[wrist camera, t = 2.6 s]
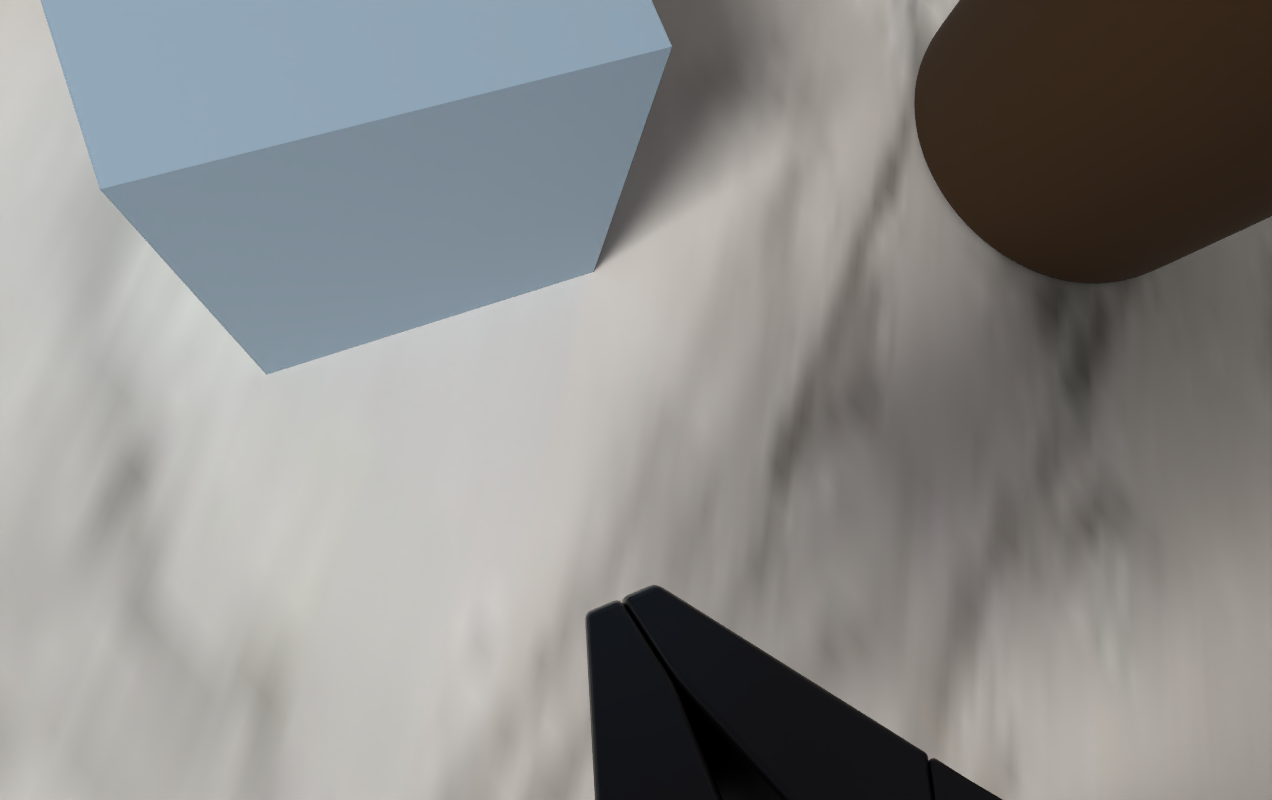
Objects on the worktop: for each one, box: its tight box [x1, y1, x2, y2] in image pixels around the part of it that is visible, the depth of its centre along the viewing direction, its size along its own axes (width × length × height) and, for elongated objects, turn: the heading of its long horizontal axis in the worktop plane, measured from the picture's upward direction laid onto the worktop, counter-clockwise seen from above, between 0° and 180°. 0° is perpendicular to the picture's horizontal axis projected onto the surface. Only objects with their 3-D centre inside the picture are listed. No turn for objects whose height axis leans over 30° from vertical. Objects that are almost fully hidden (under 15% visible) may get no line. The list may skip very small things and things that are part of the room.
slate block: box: [41, 0, 672, 374], centre depth 17 cm, size 9×8×9 cm
